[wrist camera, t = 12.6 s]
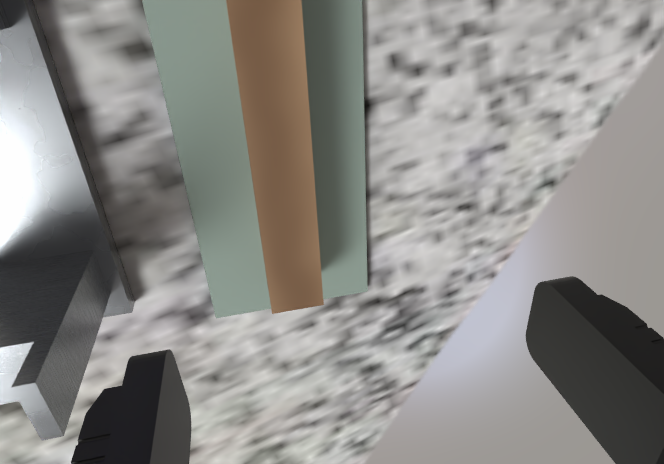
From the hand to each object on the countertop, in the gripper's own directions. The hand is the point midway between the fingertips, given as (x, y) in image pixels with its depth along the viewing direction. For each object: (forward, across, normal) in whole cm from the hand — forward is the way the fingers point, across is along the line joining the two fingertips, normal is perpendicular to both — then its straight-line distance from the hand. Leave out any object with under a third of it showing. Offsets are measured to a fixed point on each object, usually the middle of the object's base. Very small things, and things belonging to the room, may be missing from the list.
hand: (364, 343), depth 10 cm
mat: (+17, 0, 0) cm, 17 cm away
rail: (+17, 0, 0) cm, 17 cm away
